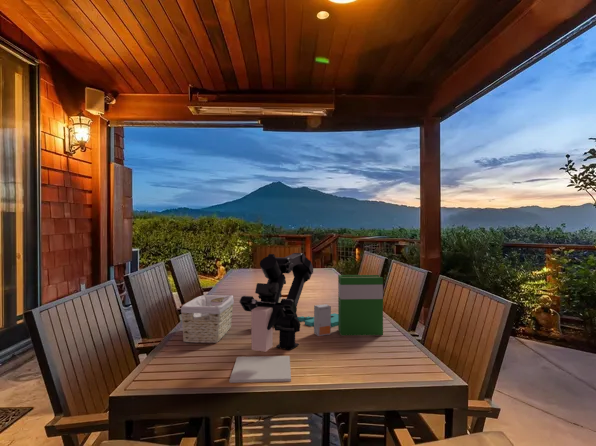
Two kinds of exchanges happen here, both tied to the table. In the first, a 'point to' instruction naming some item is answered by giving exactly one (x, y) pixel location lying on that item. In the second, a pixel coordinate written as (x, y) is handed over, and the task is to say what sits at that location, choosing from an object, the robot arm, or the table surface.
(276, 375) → the white square plate
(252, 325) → the rose card box
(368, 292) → the green cereal box
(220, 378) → the table surface
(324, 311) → the skincare box
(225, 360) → the table surface
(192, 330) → the storage basket
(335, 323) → the alien figure
